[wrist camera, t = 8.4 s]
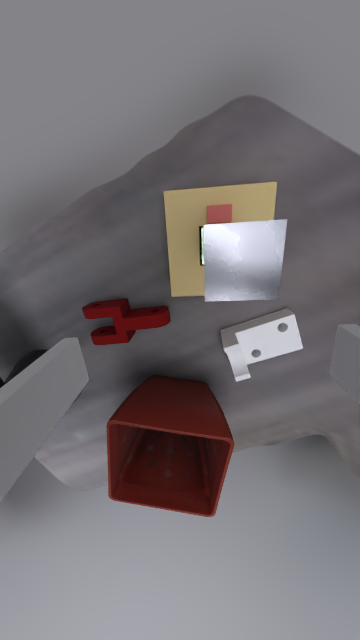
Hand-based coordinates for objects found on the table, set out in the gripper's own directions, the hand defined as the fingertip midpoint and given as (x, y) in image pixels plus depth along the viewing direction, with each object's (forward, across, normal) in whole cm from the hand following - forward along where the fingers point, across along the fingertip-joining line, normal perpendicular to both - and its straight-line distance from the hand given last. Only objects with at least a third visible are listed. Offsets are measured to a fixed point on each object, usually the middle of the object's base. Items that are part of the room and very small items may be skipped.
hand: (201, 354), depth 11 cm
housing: (+30, +3, +4) cm, 30 cm away
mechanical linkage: (+31, -14, -8) cm, 35 cm away
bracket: (+30, +11, -14) cm, 35 cm away
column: (+24, +3, +4) cm, 24 cm away
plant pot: (+30, -7, -30) cm, 43 cm away
